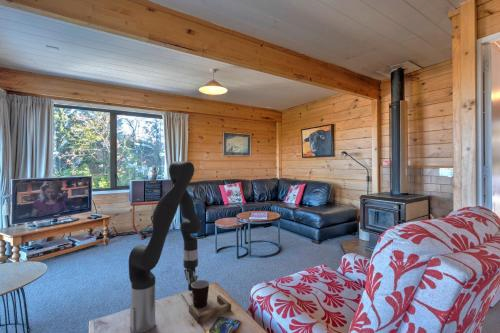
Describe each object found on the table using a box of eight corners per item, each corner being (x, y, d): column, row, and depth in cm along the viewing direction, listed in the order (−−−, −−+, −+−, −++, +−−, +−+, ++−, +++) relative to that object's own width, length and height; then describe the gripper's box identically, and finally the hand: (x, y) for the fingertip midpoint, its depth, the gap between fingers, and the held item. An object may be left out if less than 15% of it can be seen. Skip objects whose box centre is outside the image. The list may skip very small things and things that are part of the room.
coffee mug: (207, 310, 115) (207, 288, 115) (189, 309, 115) (189, 288, 115) (211, 297, 126) (211, 277, 127) (195, 297, 127) (195, 277, 127)
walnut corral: (198, 323, 105) (198, 316, 105) (189, 311, 114) (189, 305, 114) (231, 311, 114) (231, 304, 114) (219, 300, 123) (219, 294, 123)
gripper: (179, 255, 134) (179, 287, 134) (188, 262, 124) (188, 297, 123) (192, 252, 139) (192, 283, 139) (202, 259, 128) (202, 293, 128)
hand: (190, 290), depth 131 cm, fingers closed
